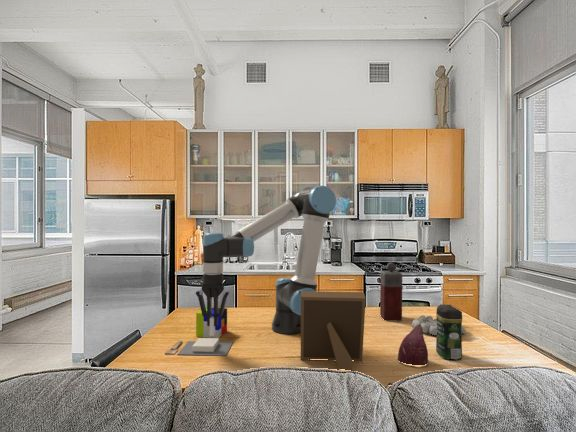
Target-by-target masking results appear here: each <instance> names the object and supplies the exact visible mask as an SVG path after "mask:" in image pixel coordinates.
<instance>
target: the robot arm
mask: <svg viewBox="0 0 576 432" xmlns="http://www.w3.org/2000/svg"><path fill="white" fill-rule="evenodd" d="M336 205H337V196H336V194H335V193H334V191H333V190H332V188H330V187H328V186H326V185H320V184H318V185H313V186H309V187H304V188H303V189H301V190H299V191H298V192H296V193H295V194H293V195H292V196H291V197H288V198H287V199H286V200H285V203H283V204H282V205H279V206H278V207H276V208H274V209H272V210H271V211H269V212H267V213H265V215H262V216H261V217H259V218H257V219H256V220H253V221H252V222H251V223H249V224H248V225H246V226H244V227H242V228H241V229H239V230H237V231H235V232H234V233H232V234H229V235H227V236H224V233H222V232H207V233H206V232H205V233H204V234H203V244H202V250H203V251H202V252H203V253H202V264H203V265H202V273H203V274H202V286H201V288H200V289H198V290H197V291H195V295H196V297H197V299H198V302H199V306H200V310H201V312H202V316H205V317H207V326H210V336H214V334H215V326H217V325H218V317H221V316H222V314H223V311H224V308H226V307H225V306H226V303H227V299H228V296H229V295H230V291H229V290H227V289H225V286H224V274H223V272H224V258H247V257H252V256H253V255H254V253H255V242H256V241H258V240H259V239H261V238H262V237H263V236H264V237H265V236H266V235H267V234H268V233H270V232H273V231H274V230H276V229H277V228H279V227H280V226H283V225H284V224H285V223H287V222H288V221H291V220H292V219H298V218H300V217H301V216H302V218H303V225H302V231H301V236H300V242H299V248H298V253H297V258H296V259H297V260H296V265H295V271H294V275H293V276H292V277H282V278H277V280H276V283H275V313H274V317H273V320H272V323H271V330H272V331H273V332H275V333H278V334H284V335H293V334H299V333H300V334H301V291H316V292H317V288H318V283H317V281H316V280H315V279H316V273H317V269H318V268H317V266H318V261H319V255H320V249H321V244H322V237H323V233H324V227H325V223H326V222H328V221H329V219H330V215H331V212H333V210H334V209H335V208H336ZM203 294H204V295H205V296H206V304H205V298H204V295H203ZM221 294H222V299H221V303H220V307H219V298H220V295H221ZM212 301H213V308H214V317H211V313H212ZM206 307H207V311H206ZM218 308H220V310H219V313H218Z"/></svg>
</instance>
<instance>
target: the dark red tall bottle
mask: <svg viewBox="0 0 576 432" xmlns="http://www.w3.org/2000/svg"><path fill="white" fill-rule="evenodd" d="M386 264H387V265H386V269H387V270H381V271H380V299H379V301H380V306H379V307H380V309H379V311H380V312H379V316H380V315H381V316H380V318H381V317H382V318H383V319H384V320H402V321H403V274H402V273H401V272H400V271H398V270H396V269H397V264H395V263H394V262H388V263H386ZM382 318H381V319H382ZM383 319H382V320H383Z"/></svg>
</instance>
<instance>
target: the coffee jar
mask: <svg viewBox="0 0 576 432" xmlns="http://www.w3.org/2000/svg"><path fill="white" fill-rule="evenodd" d="M436 318H437V336H435V337H436V339H435V340H436V343H435V345H436V346H435V352H436V353H437V355H438V356H440V357H441V356H442V357H444V358H449V359H459V360H461V359H462V358H463V344H462V340H463V338H462V337H463V336H462V335H463V334H462V332H461V327H462V326H463V311H462V310H460V309H458V308H457V307H455V306H453V305H452V304H439V305H438V306H437V307H436ZM442 357H441V358H442ZM444 358H443V359H444ZM460 358H461V359H460ZM449 359H448V360H449Z"/></svg>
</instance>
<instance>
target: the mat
mask: <svg viewBox="0 0 576 432" xmlns="http://www.w3.org/2000/svg"><path fill="white" fill-rule="evenodd" d="M196 341H197V340H188V341H187V342H186V343H185V344H184V345H183V347H181V349H180V350H179V351H178V352H177V354H176V355H177V356H202V357H203V356H205V357H208V356H210V357H211V356H212V357H214V356H215V357H216V356H217V357H218V356H219V357H226V356H228V353H229V352H230V349H231V347H232V345H233V343H234V342H233V341H219V344H218V346H217V347H216V349H215V351H214V352H193V351H192V346H193V345H194V343H195V342H196Z"/></svg>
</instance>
